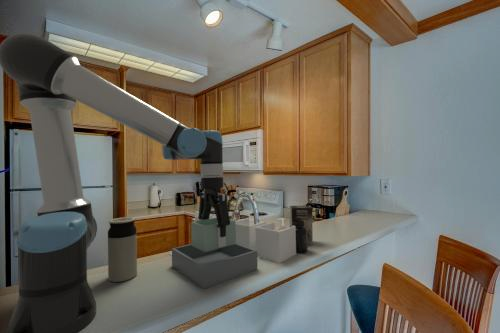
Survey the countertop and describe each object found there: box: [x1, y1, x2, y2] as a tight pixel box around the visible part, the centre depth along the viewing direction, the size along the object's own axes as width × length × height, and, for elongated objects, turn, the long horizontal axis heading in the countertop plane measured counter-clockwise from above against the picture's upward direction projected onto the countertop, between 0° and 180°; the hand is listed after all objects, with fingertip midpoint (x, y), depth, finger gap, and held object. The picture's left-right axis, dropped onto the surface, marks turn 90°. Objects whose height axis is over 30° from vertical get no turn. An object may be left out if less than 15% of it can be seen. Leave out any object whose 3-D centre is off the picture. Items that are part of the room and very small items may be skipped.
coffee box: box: [289, 205, 314, 246], centre depth 108 cm, size 9×6×16 cm
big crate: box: [171, 243, 258, 290], centre depth 83 cm, size 20×22×6 cm
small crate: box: [190, 217, 236, 252], centre depth 83 cm, size 12×9×8 cm
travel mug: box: [107, 216, 138, 283], centre depth 77 cm, size 8×8×18 cm
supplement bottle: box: [292, 220, 309, 254], centre depth 98 cm, size 7×7×12 cm
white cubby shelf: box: [235, 217, 297, 264], centre depth 98 cm, size 25×11×11 cm, turn 49°
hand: (213, 243), depth 83 cm, fingers closed on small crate, 9 cm apart
